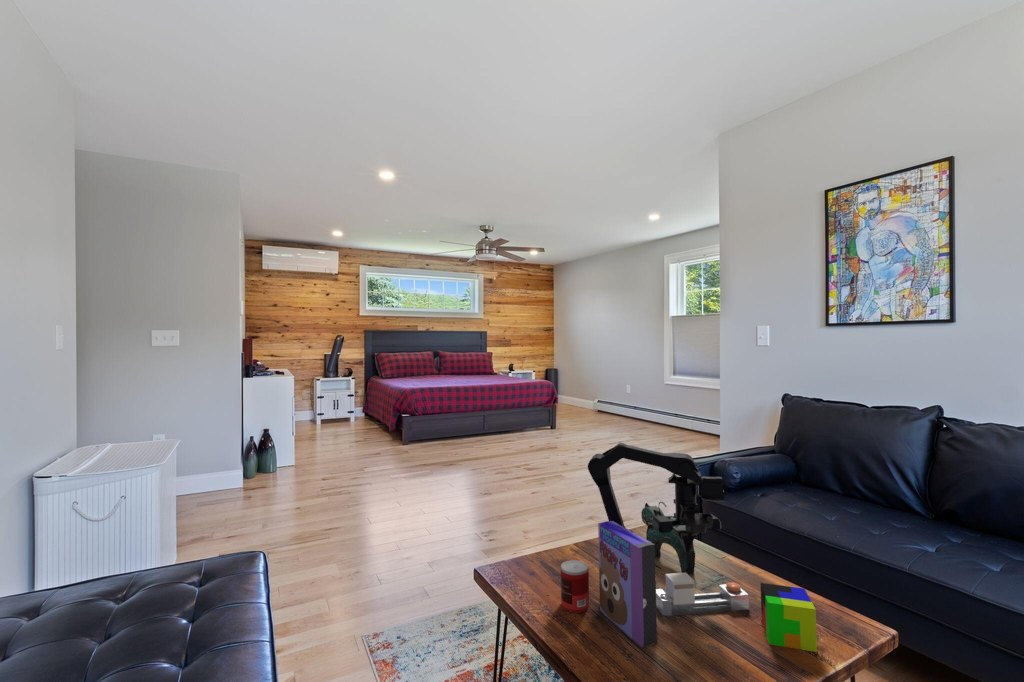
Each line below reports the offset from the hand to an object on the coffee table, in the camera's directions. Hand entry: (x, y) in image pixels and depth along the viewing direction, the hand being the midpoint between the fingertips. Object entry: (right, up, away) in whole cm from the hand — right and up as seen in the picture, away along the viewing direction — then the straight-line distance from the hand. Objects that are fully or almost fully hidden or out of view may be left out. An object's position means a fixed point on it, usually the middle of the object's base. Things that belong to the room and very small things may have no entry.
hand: (686, 552), depth 136 cm
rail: (+1, -12, -7) cm, 14 cm away
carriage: (-5, -10, -8) cm, 13 cm away
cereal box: (-21, -12, -15) cm, 29 cm away
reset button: (+11, -11, -6) cm, 17 cm away
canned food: (-33, -13, -6) cm, 36 cm away
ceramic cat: (+1, -13, +19) cm, 23 cm away
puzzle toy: (+17, -12, -21) cm, 29 cm away
